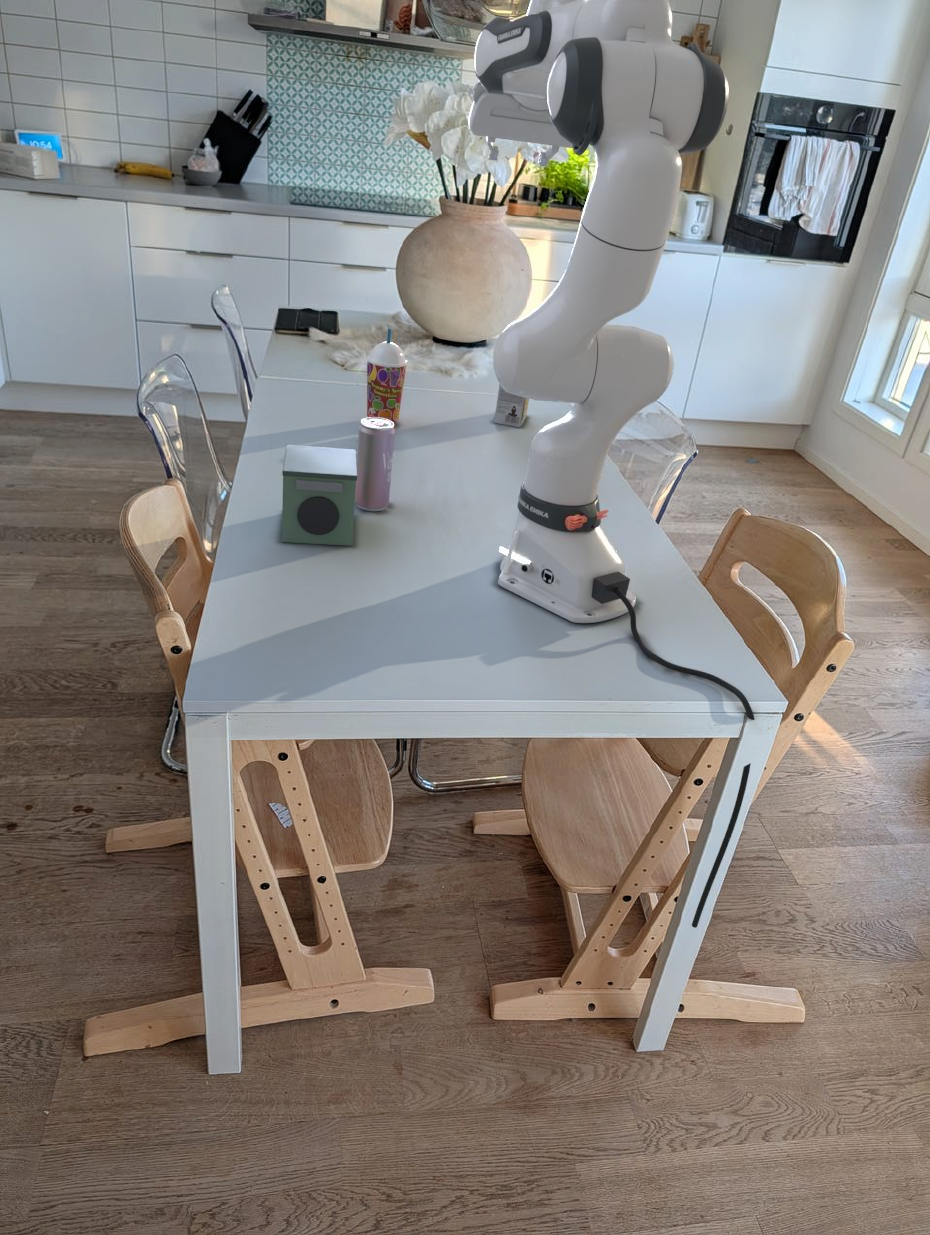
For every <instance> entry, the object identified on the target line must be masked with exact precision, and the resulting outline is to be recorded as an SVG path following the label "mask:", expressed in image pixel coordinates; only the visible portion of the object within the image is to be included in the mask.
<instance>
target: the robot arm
mask: <svg viewBox="0 0 930 1235" xmlns="http://www.w3.org/2000/svg"><path fill="white" fill-rule="evenodd" d="M527 8H528V9H527V12H526V15H525V16H521V17H519V18H516V19H513V20H512V19H510V18H506V17H502V16H499V15H497V16H495V17H493V18H492V19H491V20H489V22H487V23H486V24H485V25H484V26H483V27H482V29H481V30H480V32H479V34H478V37H477V41H476V44H475V48H474V49H475V50H474V74H475V76H476V78H477V80H478V81H477V82H476V83H475V84H474V88H473V90H472V91H473V92H472V101H473V102H472V105H471V107H470V111H469V115H468V127H469V128H468V129H469V130H470V133H471V134H472V135H473V136H476V137H478V136H479V137H484V138H485V139H486V144H487V147H488V152H487V158H488V160H489V161H496V162H497V161H498V157H499V153H500V152H499V147H498V146H497V145H494V143H495V142H496V139H500V140H507V141H515V142H523V143H530V144H531V143H532V144H539V145H545V146H549V147H548V148H547V149H546V150H545V152H544V151H541V152H540V154H539V157H538V166H539V167H546V168H548V166H549V163H550V160H551V159H552V158H553V157H554V156H555V155H556V154H557V153H558V152H559V150H560V148H561V147H562V148H569V149H572V152H573V153H574V154H575V155H576V156H578V157H580V156H582V155H583V154H585V152H586V151H587V149H588V147H589V146H591V147H592V149H593V153H594V157H595V171H594V175H593V178H592V182H591V186H590V189H589V192H588V194H587V197H586V201H585V204H584V207H583V211H582V214H581V217H580V222H579V224H578V225H579V226H578V230H577V233H576V237H575V240H574V243H573V246H572V249H571V253H570V255H569V259H568V262H567V264H566V266H565V270H564V272H563V274H562V276H561V278H560V279H559V281H558V283H557V285H555V287H554V289H553V290H552V291H551V292H550V294H549V295H547V297H546V298H545V299H544V300H543V301H542V302H541V303H540V304H539V305H538V306H537V307H535V308H534V309H533V310H531V311H530V312H528V313H527V314H526V315H524V316H522V317H520V318H519V319H517V320H514V321H512V322H510V323H509V324H508V325H507V326H506V327H505V328H504V329H503V330H502V332H501V333H500V335H499V336H498V338H497V339H496V342H495V345H494V350H493V352H492V353H493V354H492V365H493V366H492V367H493V371H494V376H495V377H496V380H497V381H498V385H499V384H500V385H501V387H502V388H503V389H504V390H505V391H506V392H508V393H511V394H514V395H518V396H521V397H525V398H529V400H533V401H538V402H551V403H553V402H554V403H569V404H574V405H573V406H572V408H570V410H569V411H568V412H567V413H566V414H565V415H563V416H562V417H560V418H559V419H557V420H555V421H551V422H549V423H548V424H546V425H544V426H543V427H541V428H540V429H539V430H538V431H537V432H536V434H535V435H534V436H533V438H532V439H531V442H530V447H529V451H528V452H529V453H528V458H527V459H528V460H527V464H526V471H525V475H524V476H525V477H524V481H523V482H522V484H521V485H520V490H519V493H518V498H517V499H518V501H517V509H518V514H517V518H516V521H515V525H514V528H513V531H512V534H511V538H510V541H509V545H508V547H507V548H505V547H504V546H499V550H498V552H499V553H502V554H503V555H504V556H503V558H502V559H501V562H500V565H499V569H500V574H499V577H498V580H497V585H498V586H499V587H501V588H503V589H505V590H507V591H509V592H511V593H513V594H515V595H517V596H520V597H521V598H523V599H525V600H527V601H529V602H531V603H533V604H536V605H537V606H540V607H541V608H542V609H545V610H547V611H549V612H551V613H553V614H555V615H557V616H558V617H561V618H563V619H565V620H567V621H570V622H571V623H575V624H592V623H593V624H594V623H600V622H605V621H608V620H612V619H616V618H617V617H618V618H619V617H620V616H623V615H624V614H627V613H628V614H629V619H630V620H629V621H630V624H629V625H630V631H631V634H632V636H633V639H634V640H635V642H636V643H637V645H638V647H639V648H640V650H641V651H642V653H643V654H644V655H645V656H647V657H648V658H649V659H651V660H653V661H654V662H656V663H657V664H658V665H660V666H662V667H664V668H667V669H668V670H671V671H674V672H678V673H682V674H686V675H690V676H694V677H699V678H702V679H705V680H708V681H710V682H712V683H714V684H716V685H719V686H720V687H722V688H723V689H726V690H727V691H729V692H731V693H732V694H734V695H735V696H736V697H737V698H738V700H739V701H740V702H741V704H742V706H743V708H744V711H745V713H746V716H747V718H748V719H749V720H750V721H755V715H754V711H753V709H752V707H751V704H750V702H749V701H748V699H747V697H746V696H745V694H744V693H743V692H742V691H741V690H740V689H738V688H737V687H736V686H734V685H732V684H731V683H730V682H727V681H725V680H724V679H722V678H720V677H718V676H717V675H715V674H711V673H709V672H705V671H702V670H698V669H695V668H691V667H686V666H682V665H678V664H675V663H672V662H670V661H667V660H666V659H665V658H662V657H661V656H659V655H657V654H656V653H654V652H653V651H651V650H650V649H648V647H647V646H646V645H645V643H644V642H643V640H642V638H641V635H640V633H639V632H638V628H637V616H636V612H635V609H634V607H635V606H636V603H637V595H635V594H634V593H633V592H632V591H631V590H630V589H629V586H630V582H631V578H629V577H628V576H626V567H625V563H624V561H623V559H622V558H621V556H620V554H619V552H618V550H617V548H616V547H614V545H613V543H612V542H611V541H610V538H609V537H608V535H607V534H606V532H605V530H604V529H603V527H602V525H601V523H602V519H604V518H607V517H608V515H607V513H608V512H609V509H605V510H601V509H600V508H601V507H600V500H599V495H598V491H599V486H600V483H601V482H600V481H601V477H602V475H603V474H602V473H603V471H604V470H603V469H604V466H605V463H606V460H607V456H608V453H609V451H610V448H611V446H612V444H613V443H614V441H615V440H616V438H617V436H618V434H619V433H621V430H622V429H623V428H624V427H625V426H626V424H628V422H629V421H630V420H631V419H632V418H634V417H635V416H636V415H637V414H638V413H639V412H641V411H642V410H644V409H645V408H646V407H648V406H649V405H651V404H653V403H655V402H657V401H658V400H659V399H660V398H661V397H662V396H663V395H664V394H665V392H666V391H667V389H668V388H669V386H670V383H671V382H672V378H673V374H674V367H675V365H674V364H675V363H674V362H675V361H674V356H673V351H672V349H671V347H670V346H671V345H669V342H668V341H667V339H666V338H665V337H664V336H663V335H661V334H658V333H656V332H652V331H649V330H646V329H643V328H641V327H640V328H639V327H636V326H630V325H621V324H608V323H609V322H611V321H613V320H614V319H616V318H619V317H621V316H624V315H626V314H629V312H632V311H633V310H636V309H637V308H638V307H639V306H640V305H641V304H642V303H643V302H645V300H646V298H647V297H648V295H649V293H651V292H650V291H651V290H652V289H651V288H652V286H653V282H654V279H655V276H656V273H657V270H658V269H659V268H658V267H659V265H660V261H661V259H662V257H663V253H664V250H665V247H666V244H667V241H668V238H669V234H670V231H671V228H672V225H673V222H674V217H675V214H676V209H677V204H678V200H679V193H680V188H681V182H682V174H683V161H682V157H681V155H682V154H690V153H695V152H696V153H697V152H700V151H703V150H705V149H707V147H708V146H710V144H712V142H713V141H714V139H715V138H716V137H717V136H718V134H719V133H720V130H721V129H722V126H723V123H724V121H725V118H726V113H727V110H728V105H729V95H730V90H729V88H730V87H729V81H728V77H727V76H726V74H725V72H724V70H723V68H722V67H721V65H720V64H719V63H718V62H717V61H716V60H714V59H713V58H711V57H710V56H708V55H706V54H705V53H703V52H702V50H701V48H700V47H699V45H698V44H697V43H695V42H694V41H691V42H690V43H688V45H687V46H686V45H679V44H677V43H675V42H674V41H673V39H672V33H673V32H672V30H673V12H672V8H671V4H670V2H669V0H530V2H529V6H528V7H527ZM751 764H752V762H750V763H748V764H746V765H744V766H743V769H742V773H741V779H740V784H739V788H738V792H737V796H736V799H735V802H734V807H733V809H732V813H731V816H730V818H729V823H728V826H727V829H726V831H725V834H724V837H723V840H722V842H721V845H720V847H719V850H718V853H717V855H716V857H715V860H714V862H713V865H712V868H711V871H710V873H709V875H708V878H707V881H706V883H705V886H704V888H703V892H702V894H701V896H700V899H699V902H698V905H697V907H696V911H695V913H694V916H693V919H692V923H691V927H693V929H697V928H698V925H699V922H700V919H701V916H702V913H703V910H704V908H705V905H706V902H707V899H708V896H709V894H710V891H711V889H712V887H713V884H714V881H715V879H716V876H717V874H718V872H719V869H720V866H721V864H722V861H723V859H724V856H725V854H726V852H727V849H728V846H729V843H730V840H731V838H732V835H733V832H734V830H735V828H736V824H737V822H738V818H739V814H740V811H741V808H742V804H743V800H744V797H745V793H746V789H747V784H748V781H749V777H750V776H749V775H750V771H751V770H750V769H751Z"/></svg>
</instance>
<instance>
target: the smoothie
mask: <svg viewBox="0 0 930 1235" xmlns="http://www.w3.org/2000/svg"><path fill="white" fill-rule="evenodd" d="M391 336H392V329H391V328H387V338H386V341H382V342H380V343H378V344H376V345H375V346H373V347H372V349H371V351H370V353H369V355H367V357H366V361H367V362H366V363H367V364H366V418H368V417H379V418H385V419H388V420H390V421H392V422H393V423H394V426H395V425H396V423H397V421H398V420H399V418H400V411H401V405H402V399H403V398H402V397H403V391H404V385H405V378H406V370H407V366H408V365H407V364H408V360H407V359H406V356H405V353H404V352H403V350H402V348H401V347H400V346H399V345H398V344H396V343H394V342H392V341H391Z"/></svg>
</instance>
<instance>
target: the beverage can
mask: <svg viewBox="0 0 930 1235" xmlns="http://www.w3.org/2000/svg"><path fill="white" fill-rule="evenodd" d="M395 433H396V430H395V425H394V423H393V422H392V421H390V420H388V419H385V418H379V417H364V418H362V419H361V420H360V424H359V426H358V439H357V452H356V455H357V481H356V493H355V506H357V507H358V508H359V509H361V510H363V511H367V512H380V511H384V510H385V509H386V508H387V507H388V506H389V504H390V495H391V494H390V493H391V481H392V469H393V458H394V445H395Z"/></svg>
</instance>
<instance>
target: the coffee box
mask: <svg viewBox="0 0 930 1235" xmlns="http://www.w3.org/2000/svg"><path fill="white" fill-rule="evenodd" d="M497 391H498V392H497V400H496V406H495V413H494V421H493V423H495V424H499V425H504V426H509V427H515V428H521V427H522V426H523V423H524V421H525V420H526V417H527V414H528V408H529V402H530V399H529V398H525V397H521V396H518V395H514V394H511V393H508V392H506V391H505V390H504V389H503V388H502V387H501V385H500V384H499V383H498V390H497Z"/></svg>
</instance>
